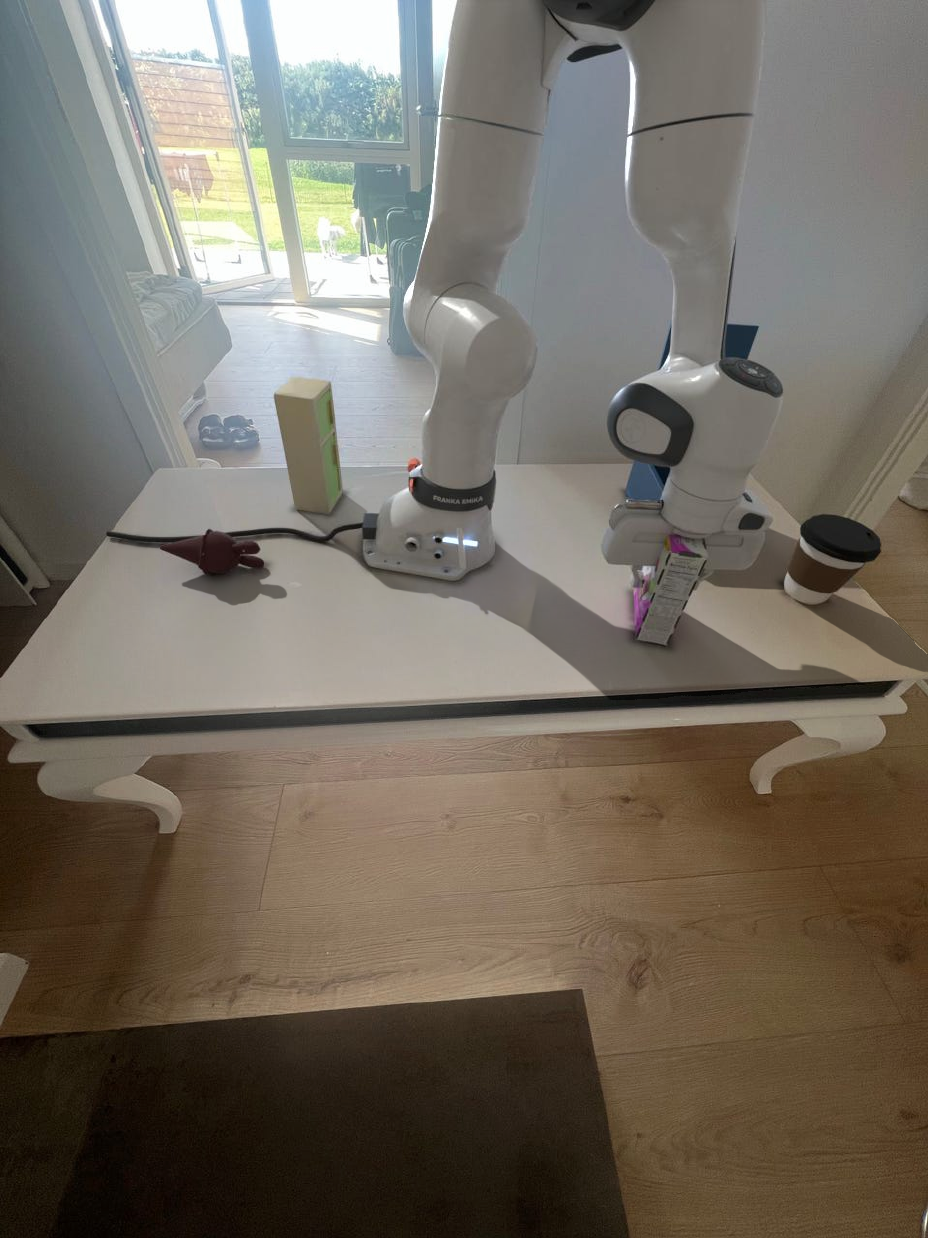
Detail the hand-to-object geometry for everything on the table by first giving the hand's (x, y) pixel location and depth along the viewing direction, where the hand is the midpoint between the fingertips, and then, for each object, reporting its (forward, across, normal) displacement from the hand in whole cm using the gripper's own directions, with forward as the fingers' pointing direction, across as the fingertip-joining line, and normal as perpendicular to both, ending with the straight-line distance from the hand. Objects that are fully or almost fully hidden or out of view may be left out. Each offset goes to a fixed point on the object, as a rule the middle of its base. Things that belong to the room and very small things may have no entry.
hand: (662, 586), depth 75 cm
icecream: (+6, -67, +7) cm, 68 cm away
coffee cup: (+7, +28, +8) cm, 30 cm away
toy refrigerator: (+6, -55, +28) cm, 62 cm away
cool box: (+6, +12, +28) cm, 31 cm away
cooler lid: (-14, +12, +39) cm, 43 cm away
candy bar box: (+7, 0, 0) cm, 7 cm away
